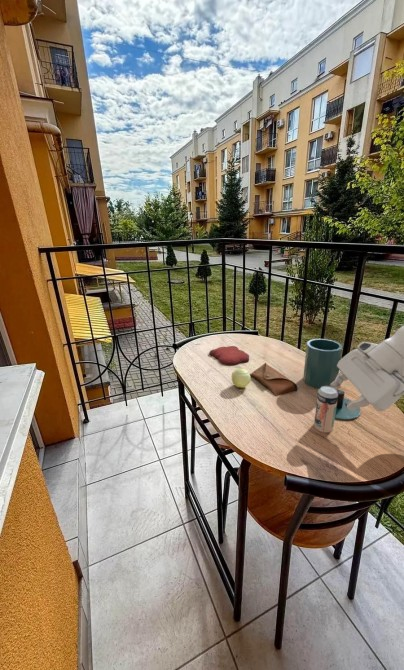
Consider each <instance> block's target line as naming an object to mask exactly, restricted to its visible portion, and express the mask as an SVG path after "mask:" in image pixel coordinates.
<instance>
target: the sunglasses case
mask: <svg viewBox="0 0 404 670" xmlns="http://www.w3.org/2000/svg"><path fill="white" fill-rule="evenodd" d="M249 374H250V377H252V378H254V379H255V380H256V381H257V382H258V383H260V384H261V385H262V386H263V387H265V389H267V390H269V391H270V392H271V393H272V394H273V395H274V396H275V397H279V396H284V395H287V394H291V393H295V392H297V391H298V384H296V383H295V382H294V381H292V380H291V379H290V378H288V377H287V376H285V374H283V373H281V372H280V371H278V370H277V369H275V368H274V367H272V366H271V365H269V364H268V363H267V362H264V363H263V364H261V366H259V367H257V369H255V370H254V371H252V372H251V373H249Z"/></svg>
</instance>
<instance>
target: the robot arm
mask: <svg viewBox="0 0 404 670" xmlns="http://www.w3.org/2000/svg"><path fill="white" fill-rule="evenodd" d="M337 367H338V368H339V374H338V375H337V377H336V379H335V381H333V382H332V383H331V384H330V385H331V387H333V388H335V389H336V390H340V389H341V387H342V386H341V385H342V383H343V382H346V381H347V380H348V381H349V382H350V383H351V384H352V385H353V386H354V387H355V389H356V390H357V391H358V392H359V394H361V395H359V396H358V397H357V398H358V399H355V400H351V399H349V401H348V402H347V403H345V405H346V407H347V408H348V409H349V410H350V411H353V410H355V409H356V408H360V409H361V408H365V407H368V406H371V407H372V408H373V409H374V410H376V411H377V412H385V411H386V410H388V409H389V408H390V407H392V406H393V405H394V404H395V403H396V402H398V400H399V399H401V398H402V397H403V396H404V324H403V325H402V326H401V327H399V328H398V329H397V330H396V331H395V333H393V335H391V336H389V338H386V339H383V340H382V341H381V342H380V343H372V342H366V341H361V342H360V343H359V344H357V348H354V349H352V350H351V351H349V352H348V353H347V354H345V355H344V356H343V357H341V360H340V361H339V362H338V364H337Z"/></svg>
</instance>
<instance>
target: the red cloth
mask: <svg viewBox="0 0 404 670" xmlns="http://www.w3.org/2000/svg"><path fill="white" fill-rule="evenodd" d="M208 353H209V355H210V356H212V355H213V356H212V357H214V358H215V359H217V358H218V359H217V360H218V361H219V362H220V363H221V364H224V365H228V366H229V365H230V366H232V365H233V366H234V365H237V364H239V363H246V362H249V361H250V355H249V354H248V353H247V352H245V351H244V350H242V349H239V347H238V346H235V345H229V346H219V347H216V348H214V349H211V350H209V352H208Z"/></svg>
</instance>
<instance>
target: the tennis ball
mask: <svg viewBox="0 0 404 670" xmlns="http://www.w3.org/2000/svg"><path fill="white" fill-rule="evenodd" d="M250 374H251V373H250V372H249V371H248V370H247V369H246V368H237V369H235V370H234V371H232V373H231V382H232V384H233V385H234V386H235V387H237V388H246V387H247V386H249V384H250V383H251V379H252V378H251V376H250Z"/></svg>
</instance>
